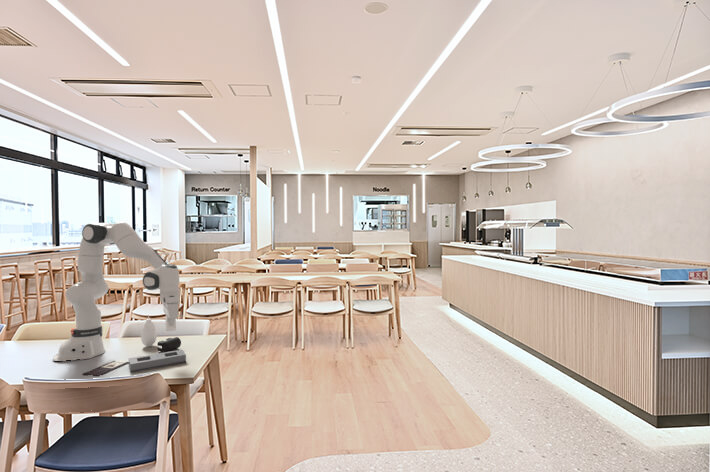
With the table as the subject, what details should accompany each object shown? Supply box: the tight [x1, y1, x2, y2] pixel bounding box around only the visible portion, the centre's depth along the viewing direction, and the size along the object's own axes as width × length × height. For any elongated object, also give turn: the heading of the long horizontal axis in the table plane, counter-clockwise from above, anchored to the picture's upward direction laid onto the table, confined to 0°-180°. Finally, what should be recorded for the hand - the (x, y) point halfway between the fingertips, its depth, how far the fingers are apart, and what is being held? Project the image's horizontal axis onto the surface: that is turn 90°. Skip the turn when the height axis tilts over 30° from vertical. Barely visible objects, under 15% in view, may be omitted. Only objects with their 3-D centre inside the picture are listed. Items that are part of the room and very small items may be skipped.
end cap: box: [157, 336, 182, 354], centre depth 213 cm, size 10×7×7 cm
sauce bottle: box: [140, 314, 158, 348], centre depth 223 cm, size 8×8×18 cm
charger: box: [165, 315, 177, 332], centre depth 196 cm, size 4×4×7 cm
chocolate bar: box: [82, 360, 129, 377], centre depth 188 cm, size 9×1×18 cm
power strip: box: [128, 349, 187, 374], centre depth 193 cm, size 24×10×4 cm, turn 124°
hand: (170, 324), depth 196 cm, fingers closed on charger, 4 cm apart
